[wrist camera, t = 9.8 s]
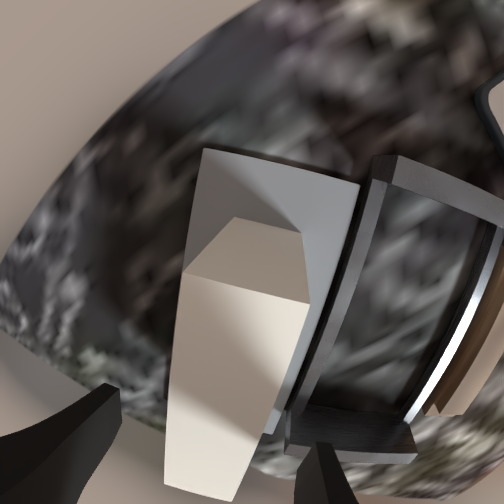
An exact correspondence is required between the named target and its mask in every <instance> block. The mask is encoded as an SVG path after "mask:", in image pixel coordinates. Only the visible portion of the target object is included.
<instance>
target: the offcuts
mask: <svg viewBox="0 0 504 504" xmlns="http://www.w3.org/2000/svg"><path fill="white" fill-rule="evenodd" d="M503 351H504V246H503V245H501V248H500V251H499V254H498V256H497V259H496V262H495V265H494V268H493V270H492V273H491V275H490V278H489V281H488V283H487V286H486V288H485V290H484V293H483V295H482V298H481V300H480V302H479V304H478V307H477V309H476V311H475V313H474V315H473V318H472V320H471V322H470V324H469V326H468V328H467V330H466V332H465V334H464V336H463V338H462V340H461V342H460V344H459V345H458V347H457V349H456V351H455V353H454V355H453V356H452V358H451V360H450V362H449V364H448V365H447V367H446V369H445V370H444V372H443V374H442V375H441V377H440V379H439V380H438V382H437V384H436V385H435V387H434V388H433V390H432V392H431V393H430V395H429V396H428V398H427V399H426V401H425V402H424V404H423V405H422V410H423V412H424V415H425V416H454V415H463V414H464V412H465V411H466V409H467V408H468V407H469V405H470V404H471V402H472V401H473V400H474V398H475V397H476V395H477V394H478V392H479V391H480V389H481V388H482V386H483V385H484V383H485V381H486V380H487V378H488V377H489V375H490V373H491V372H492V370H493V369H494V367H495V365H496V363H497V362H498V360H499V358H500V357H501V355H502V353H503Z"/></svg>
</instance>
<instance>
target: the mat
mask: <svg viewBox="0 0 504 504" xmlns="http://www.w3.org/2000/svg"><path fill="white" fill-rule="evenodd" d="M359 189H360V185H358V184H355V183H352V182H348V181H345V180H341V179H338V178H334V177H330V176H327V175H323V174H319V173H316V172H312V171H308V170H304V169H300V168H296V167H292V166H288V165H284V164H280V163H276V162H271V161H267V160H263V159H258V158H254V157H249V156H244V155H239V154H235V153H230V152H225V151H220V150H214V149H209V148H204V149H203V154H202V159H201V164H200V169H199V174H198V179H197V184H196V189H195V195H194V200H193V206H192V212H191V217H190V223H189V229H188V235H187V242H186V248H185V254H184V261H183V268H182V273H183V271H184V270H185V269H186V268H187V267H188V266H189V265H190V264H191V262H192V261H193V260H194V259H195V258H196V257H197V256H198V255H199V254H200V253H201V252H202V251H203V249H204V248H205V247H206V246H207V245H208V244H209V243H210V242H211V241H212V240H213V239H214V238H215V237H216V236H217V234H218V233H219V232H220V231H221V230H222V229H223V228H224V227H225V226H226V225H227V224H228V223H229V222H230V221H231V220H232V219H233V218H234V217H237V218H242V219H246V220H250V221H254V222H258V223H262V224H266V225H270V226H275V227H279V228H283V229H287V230H291V231H295V232H299V233H302V239H303V247H304V255H305V263H306V271H307V279H308V288H309V297H310V307H309V310H308V313H307V316H306V319H305V322H304V325H303V328H302V330H301V333H300V336H299V339H298V342H297V345H296V348H295V350H294V353H293V356H292V359H291V361H290V364H289V367H288V369H287V372H286V375H285V377H284V380H283V383H282V385H281V388H280V390H279V393H278V396H277V398H276V401H275V403H274V406H273V408H272V411H271V413H270V416H269V418H268V421H267V423H266V425H265V428H264V430H263V433H268V434H273V431H274V429H275V427H276V425H277V423H278V420H279V418H280V416H281V414H282V411H283V409H284V407H285V404H286V402H287V400H288V397H289V395H290V392H291V390H292V388H293V385H294V383H295V380H296V378H297V375H298V373H299V370H300V368H301V365H302V363H303V360H304V358H305V355H306V353H307V350H308V347H309V345H310V342H311V339H312V337H313V334H314V331H315V329H316V326H317V323H318V320H319V318H320V315H321V312H322V309H323V306H324V303H325V301H326V298H327V295H328V292H329V289H330V286H331V283H332V280H333V277H334V274H335V271H336V267H337V264H338V261H339V258H340V255H341V252H342V248H343V245H344V242H345V238H346V235H347V232H348V228H349V225H350V221H351V218H352V214H353V211H354V207H355V204H356V200H357V196H358V193H359ZM181 280H182V275H181ZM180 287H181V282H180ZM179 294H180V289H179ZM178 302H179V297H178ZM177 310H178V304H177ZM176 318H177V312H176ZM175 326H176V321H175ZM174 335H175V329H174ZM173 344H174V338H173ZM172 354H173V347H172ZM171 364H172V357H171ZM170 375H171V367H170ZM169 386H170V378H169ZM168 398H169V390H168ZM167 407H168V403H167Z"/></svg>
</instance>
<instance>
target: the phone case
mask: <svg viewBox="0 0 504 504" xmlns="http://www.w3.org/2000/svg"><path fill="white" fill-rule="evenodd" d="M474 99H475V107H476V110H477V112H478V114H479V116H480V118H481V120H482V122H483V124H484V126H485V127H486V129H487V131H488V133H489V135H490V137H491V139H492V141H493V143H494V145H495V147H496V149H497V152H498V154H499V156H500V158H501V160H502V163H503V165H504V69H503V70H502V71H500V72H499V73H498V74H496V75H495V76H493V77H492V78H491V79H489V80H488V81H486V82H485V83H484V84H482V85H481V86H480V87H479V88H478V89H477V90H476V93H475V98H474Z"/></svg>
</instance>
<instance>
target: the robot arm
mask: <svg viewBox="0 0 504 504" xmlns="http://www.w3.org/2000/svg"><path fill="white" fill-rule="evenodd" d="M121 424H122V415H121V403H120V390H119V388H117V387H114V386H112V385H109V384H107V383H103V384H102V385H100V386H99V387H97V388H96V389H94V390H93V391H91V392H90V393H89V394H87V395H86V396H84V397H83V398H81V399H80V400H78V401H76V402H75V403H73V404H72V405H70V406H68V407H67V408H65V409H63V410H62V411H60V412H58V413H57V414H55V415H53V416H51V417H49V418H47V419H45V420H43V421H41V422H39V423H37V424H35V425H33V426H31V427H28V428H25V429H23V430H21V431H18V432H15V433H11V434H8V435H5V436H2V437H0V504H77V501H78V499H79V497H80V495H81V493H82V490H83V489H84V487H85V485H86V483H87V482H88V480H89V479H90V477H91V476H92V474H93V472H94V471H95V469H96V468H97V466H98V465H99V463H100V462H101V460H102V459H103V457H104V455H105V454H106V452H107V451H108V449H109V448H110V446H111V445H112V443H113V441H114V439H115V437H116V435H117V432H118V430H119V428H120V426H121ZM294 504H359V503H358V502H357V500H356V497H355V496H354V493H353V491H352V489H351V487H350V485H349V483H348V481H347V479H346V477H345V474H344V472H343V470H342V467H341V465H340V463H339V460H338V458H337V455H336V453H335V450H334V447H333V445H332V444H331V443H325V442H317V441H315V443H314V444H313V446H312V447H311V449H310V451H309V452H308V454H307V455H306V457H305V459H304V460H303V462H302V463H301V465H300V466H299V468H298V469H297V475H296V482H295V490H294Z"/></svg>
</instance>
